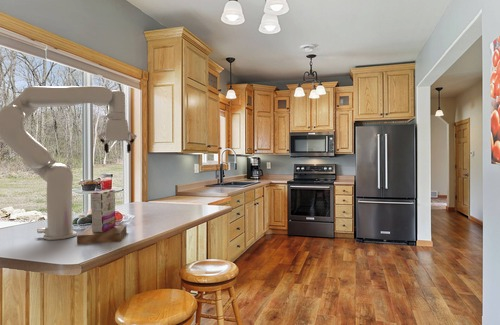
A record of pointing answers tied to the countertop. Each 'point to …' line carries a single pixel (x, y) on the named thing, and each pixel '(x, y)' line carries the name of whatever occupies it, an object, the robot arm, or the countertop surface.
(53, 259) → the countertop surface
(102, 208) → the candy bar box
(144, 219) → the countertop surface
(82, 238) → the walnut block
